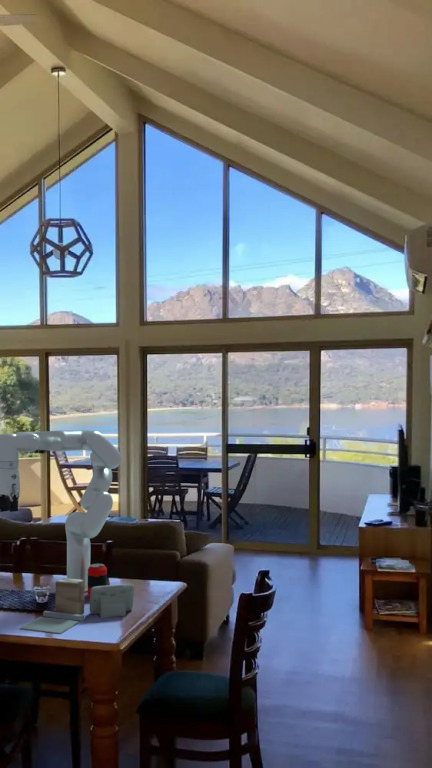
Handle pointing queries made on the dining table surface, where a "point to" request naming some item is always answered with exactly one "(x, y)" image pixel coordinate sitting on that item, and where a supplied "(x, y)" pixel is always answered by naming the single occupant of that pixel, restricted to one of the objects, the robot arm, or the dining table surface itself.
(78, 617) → the rail
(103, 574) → the soda can
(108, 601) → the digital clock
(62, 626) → the mat
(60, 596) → the block
